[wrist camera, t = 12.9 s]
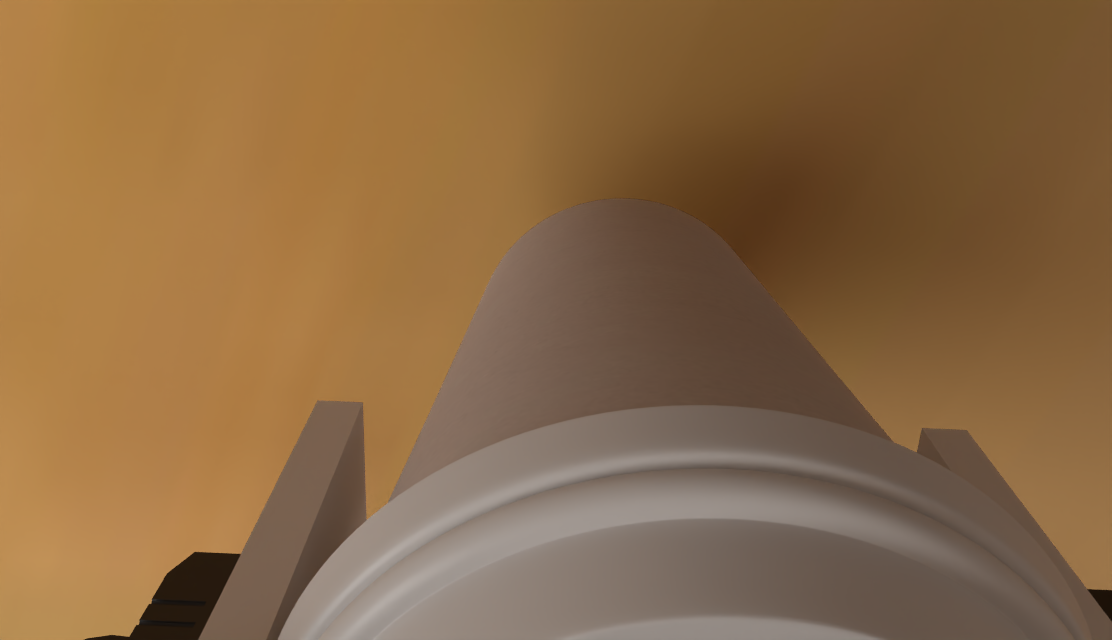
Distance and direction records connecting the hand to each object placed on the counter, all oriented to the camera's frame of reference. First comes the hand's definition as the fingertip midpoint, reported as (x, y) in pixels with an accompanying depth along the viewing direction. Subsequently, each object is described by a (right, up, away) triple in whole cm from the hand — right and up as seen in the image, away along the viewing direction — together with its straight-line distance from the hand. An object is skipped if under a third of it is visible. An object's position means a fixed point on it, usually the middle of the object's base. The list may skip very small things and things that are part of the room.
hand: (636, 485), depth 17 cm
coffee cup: (0, +3, +6) cm, 7 cm away
